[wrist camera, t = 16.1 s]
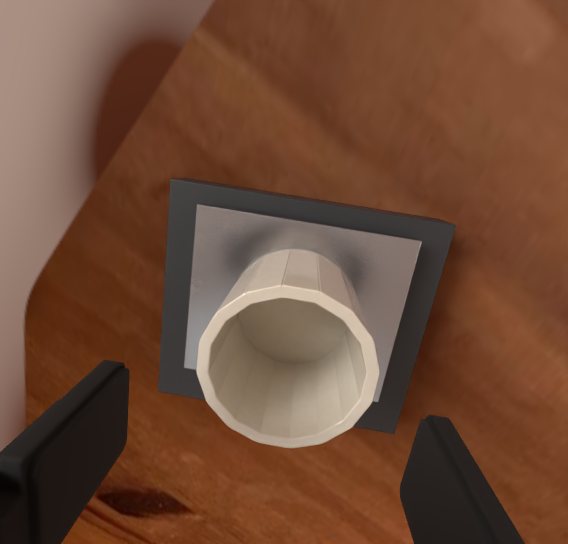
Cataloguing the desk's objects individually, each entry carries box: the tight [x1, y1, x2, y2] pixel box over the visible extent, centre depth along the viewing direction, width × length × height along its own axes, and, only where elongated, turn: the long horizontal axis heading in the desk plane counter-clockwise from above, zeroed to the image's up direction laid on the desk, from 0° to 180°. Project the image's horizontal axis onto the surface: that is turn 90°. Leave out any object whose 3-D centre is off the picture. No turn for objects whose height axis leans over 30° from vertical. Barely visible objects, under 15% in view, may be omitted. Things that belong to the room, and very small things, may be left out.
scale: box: [158, 178, 456, 434], centre depth 22 cm, size 16×14×3 cm
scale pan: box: [184, 203, 422, 402], centre depth 20 cm, size 12×10×1 cm
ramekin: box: [196, 249, 380, 448], centre depth 16 cm, size 7×7×6 cm
